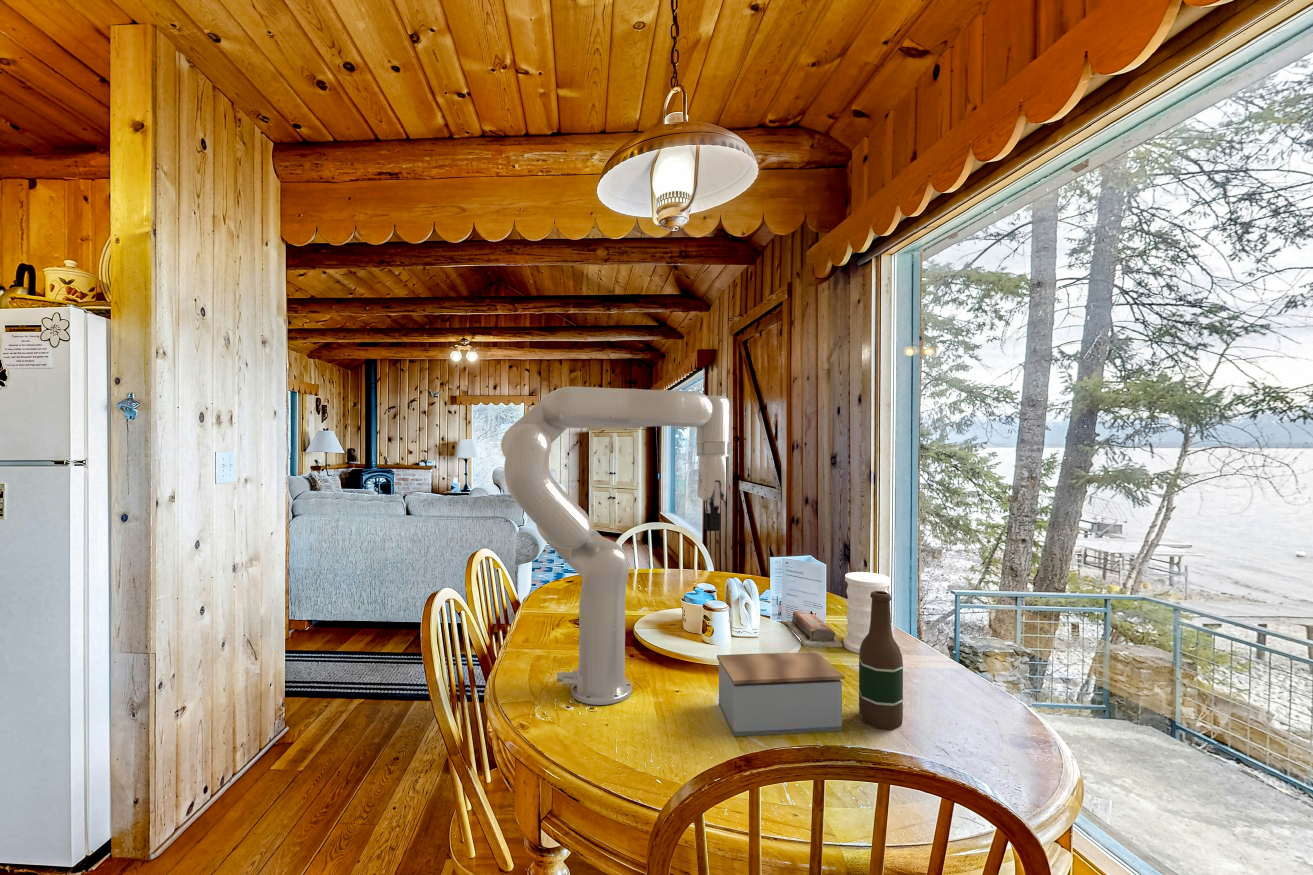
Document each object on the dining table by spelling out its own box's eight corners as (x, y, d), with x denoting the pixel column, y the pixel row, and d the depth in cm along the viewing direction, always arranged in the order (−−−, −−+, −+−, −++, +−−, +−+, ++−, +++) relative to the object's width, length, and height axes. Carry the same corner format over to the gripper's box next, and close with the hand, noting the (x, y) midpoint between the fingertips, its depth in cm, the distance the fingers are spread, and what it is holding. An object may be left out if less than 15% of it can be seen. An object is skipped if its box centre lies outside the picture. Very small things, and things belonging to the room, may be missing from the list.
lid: (733, 684, 98) (733, 680, 98) (716, 658, 111) (716, 654, 111) (844, 679, 100) (844, 675, 100) (816, 654, 113) (815, 650, 113)
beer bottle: (899, 735, 99) (899, 600, 99) (854, 723, 103) (854, 593, 103) (905, 717, 106) (906, 590, 106) (863, 706, 110) (863, 585, 110)
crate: (733, 736, 98) (734, 686, 98) (718, 704, 110) (718, 660, 110) (841, 730, 100) (842, 681, 100) (815, 700, 112) (815, 656, 112)
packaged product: (785, 609, 160) (819, 609, 160) (785, 626, 160) (819, 625, 160) (804, 630, 142) (843, 630, 142) (804, 649, 142) (843, 649, 142)
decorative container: (869, 637, 149) (869, 570, 150) (902, 652, 139) (902, 580, 139) (833, 642, 145) (834, 573, 146) (864, 658, 135) (865, 584, 135)
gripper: (690, 449, 134) (690, 525, 134) (703, 450, 119) (702, 536, 119) (721, 449, 135) (720, 525, 134) (737, 450, 120) (736, 535, 120)
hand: (712, 530), depth 127 cm, fingers closed
